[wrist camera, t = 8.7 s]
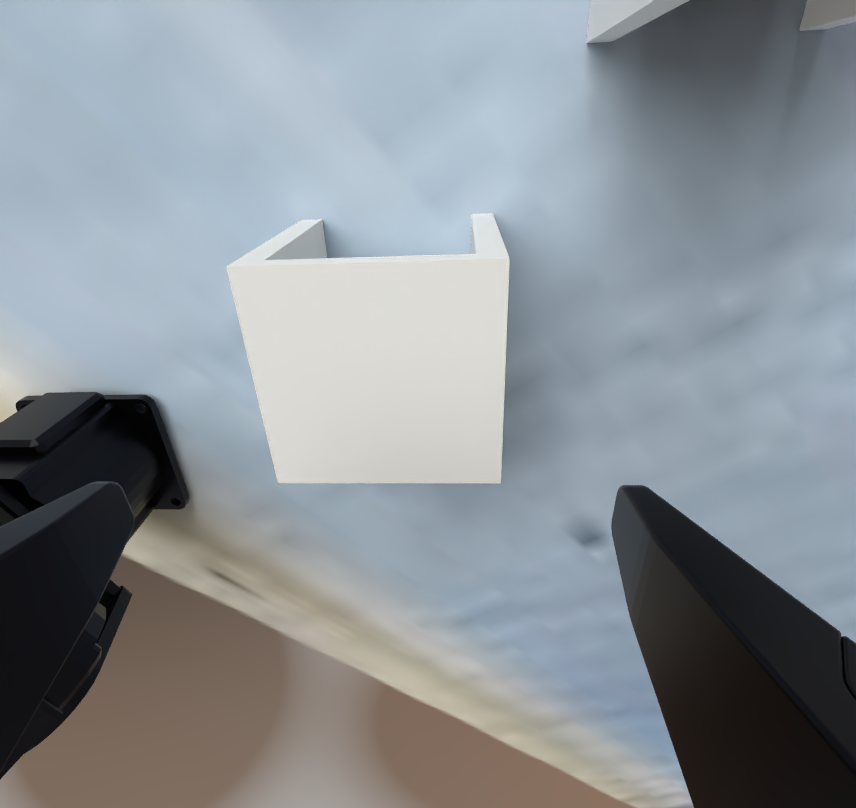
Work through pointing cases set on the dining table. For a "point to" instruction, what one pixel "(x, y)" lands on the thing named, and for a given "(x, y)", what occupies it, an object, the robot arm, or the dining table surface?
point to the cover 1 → (377, 358)
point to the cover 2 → (641, 3)
